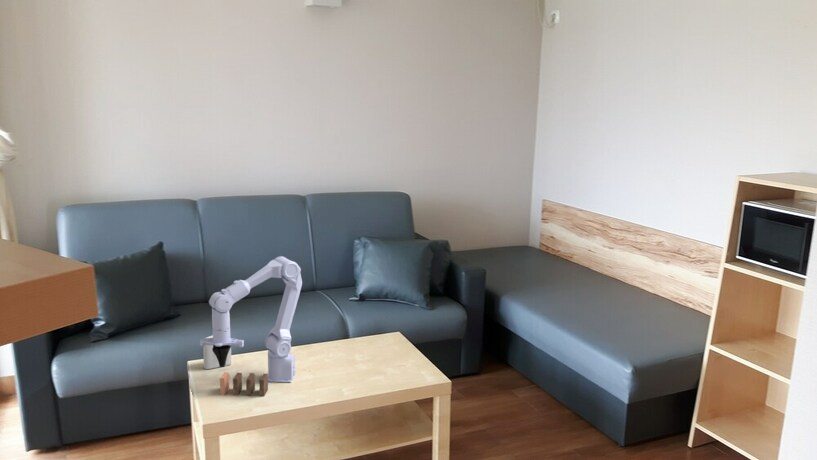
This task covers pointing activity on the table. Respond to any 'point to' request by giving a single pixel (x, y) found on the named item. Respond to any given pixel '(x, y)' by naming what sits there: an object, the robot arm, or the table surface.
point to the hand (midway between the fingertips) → (222, 365)
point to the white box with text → (213, 357)
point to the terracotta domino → (224, 383)
